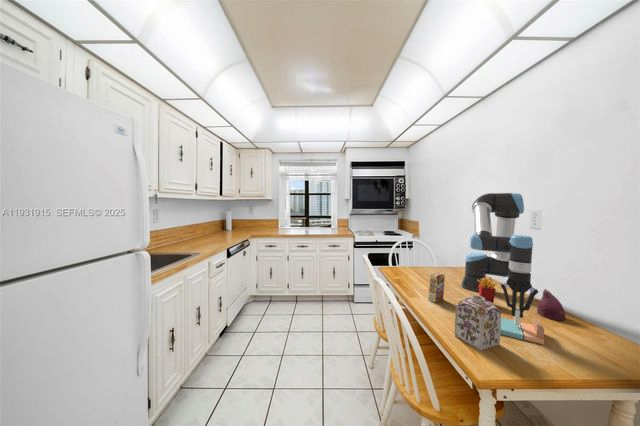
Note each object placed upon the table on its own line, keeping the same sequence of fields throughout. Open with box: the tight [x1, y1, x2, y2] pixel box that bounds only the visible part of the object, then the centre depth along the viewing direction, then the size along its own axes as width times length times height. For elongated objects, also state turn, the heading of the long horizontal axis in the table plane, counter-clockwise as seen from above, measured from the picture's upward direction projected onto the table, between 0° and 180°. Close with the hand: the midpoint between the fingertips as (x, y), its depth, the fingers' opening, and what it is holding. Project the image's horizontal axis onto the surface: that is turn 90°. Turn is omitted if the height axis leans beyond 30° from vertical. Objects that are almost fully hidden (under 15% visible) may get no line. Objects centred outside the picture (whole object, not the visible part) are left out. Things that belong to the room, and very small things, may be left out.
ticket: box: [500, 317, 524, 341], centre depth 108 cm, size 14×12×2 cm
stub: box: [519, 316, 545, 345], centre depth 103 cm, size 14×6×6 cm, turn 146°
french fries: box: [477, 276, 497, 304], centre depth 136 cm, size 9×8×15 cm
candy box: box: [428, 272, 446, 303], centre depth 139 cm, size 9×4×15 cm, turn 123°
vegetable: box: [536, 288, 566, 322], centre depth 121 cm, size 10×10×15 cm
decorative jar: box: [453, 295, 502, 352], centre depth 98 cm, size 12×12×18 cm
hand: (516, 323), depth 105 cm, fingers closed
